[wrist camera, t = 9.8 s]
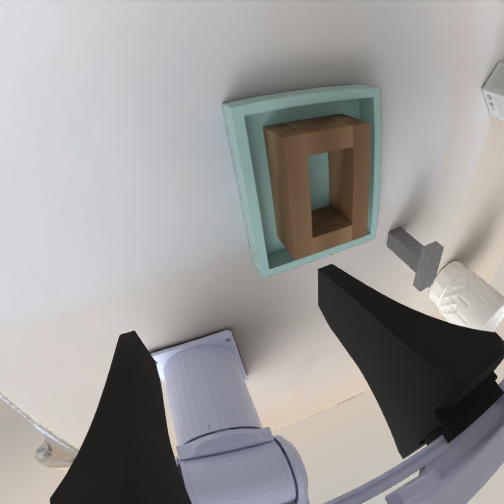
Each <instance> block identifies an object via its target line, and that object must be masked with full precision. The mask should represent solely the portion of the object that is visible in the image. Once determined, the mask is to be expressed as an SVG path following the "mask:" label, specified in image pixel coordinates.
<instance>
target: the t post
mask: <svg viewBox="0 0 504 504" xmlns="http://www.w3.org/2000/svg"><path fill="white" fill-rule="evenodd" d="M387 247H389V248H390V249H391V250H392V251H393V252H394V253H395V254H396V255H397V256H398V257H399V258H401V259H402V260H403V261H404V262H405V263H406V264H407V265H408V266H409V267H410V268H411V269H412V270H413V271H414V272H415V273H416V275H415V279H414V283H413V285H414V286H415V287H416V288H417V289H418V290H419V291H422V290H424V289H425V288H427V287H429V286H431V285H433V283H434V280H435V277H436V273H437V270H438V267H439V263H440V260H441V256H442V252H443V249H444V247H443V246H442V245H440V244H439V243H438V242H437V241H435V242H433V243H431V244H428V245H426V246H423V245H422V244H421V243H419V242H418V241H417V240H416V239H414V238H413V237H412V236H411V235H410V234H408V233H407V232H406V231H405V230H403V229H402V228H398V229H396V230H393V231H391V232H389V234H388V241H387Z"/></svg>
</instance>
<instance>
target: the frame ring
mask: <svg viewBox="0 0 504 504" xmlns="http://www.w3.org/2000/svg"><path fill="white" fill-rule="evenodd" d="M263 133H264V140H265V147H266V154H267V161H268V169H269V176H270V183H271V191H272V199H273V206H274V214H275V222H276V230H277V237H278V239H279V240H280V241H281V243H282V244H283V245H284V247H285V248H286V249H287V251H288V252H289V253H290V255H291V256H292V257H293V259H294V260H295V261H296V260H299V259H302V258H304V257H307V256H310V255H313V254H316V253H319V252H322V251H325V250H328V249H330V248H333V247H336V246H339V245H342V244H345V243H348V242H350V241H353V240H356V239H359V238H362V237H364V236H366V235H367V223H368V208H369V188H370V123H368V122H365V121H363V120H360V119H357V118H354V117H351V116H348V115H345V114H335V115H328V116H321V117H314V118H308V119H302V120H296V121H291V122H285V123H280V124H275V125H270V126H265V127H263ZM326 152H328V169H329V203H330V206H326V207H323V208H319V209H316V210H312V211H311V198H310V182H309V167H308V156H311V155H316V154H321V153H326Z"/></svg>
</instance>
